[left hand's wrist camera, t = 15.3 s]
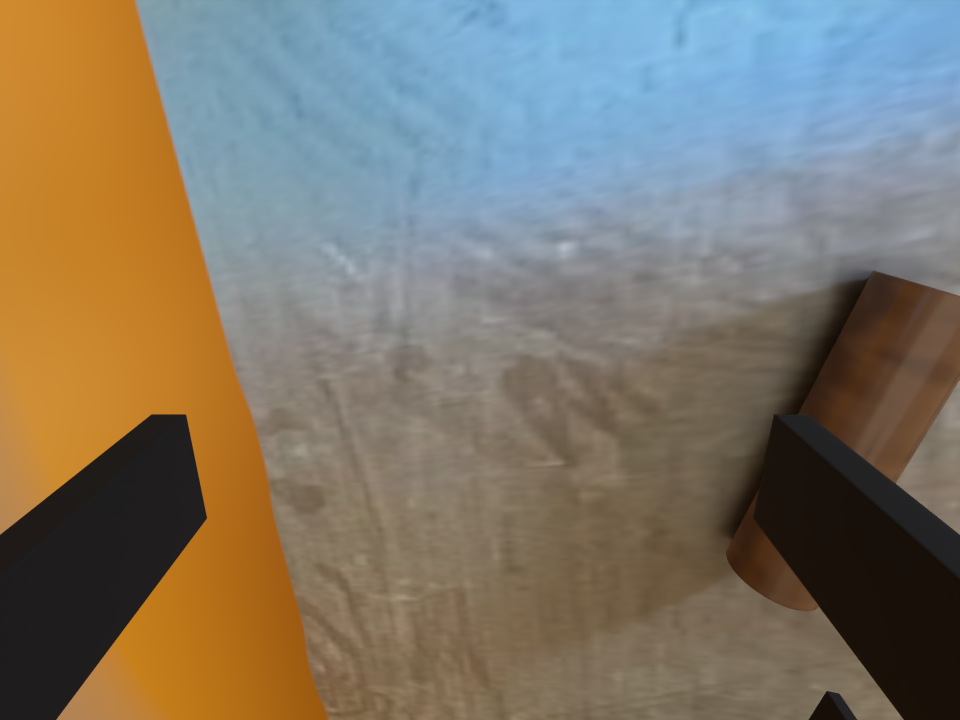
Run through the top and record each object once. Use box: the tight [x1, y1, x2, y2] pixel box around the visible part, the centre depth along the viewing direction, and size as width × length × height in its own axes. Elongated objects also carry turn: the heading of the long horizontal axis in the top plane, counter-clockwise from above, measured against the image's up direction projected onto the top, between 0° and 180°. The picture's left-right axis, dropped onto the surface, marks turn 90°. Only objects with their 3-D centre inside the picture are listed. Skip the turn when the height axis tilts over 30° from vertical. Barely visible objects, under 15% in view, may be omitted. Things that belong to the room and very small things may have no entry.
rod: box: [726, 271, 960, 611], centre depth 43 cm, size 26×8×8 cm, turn 165°
